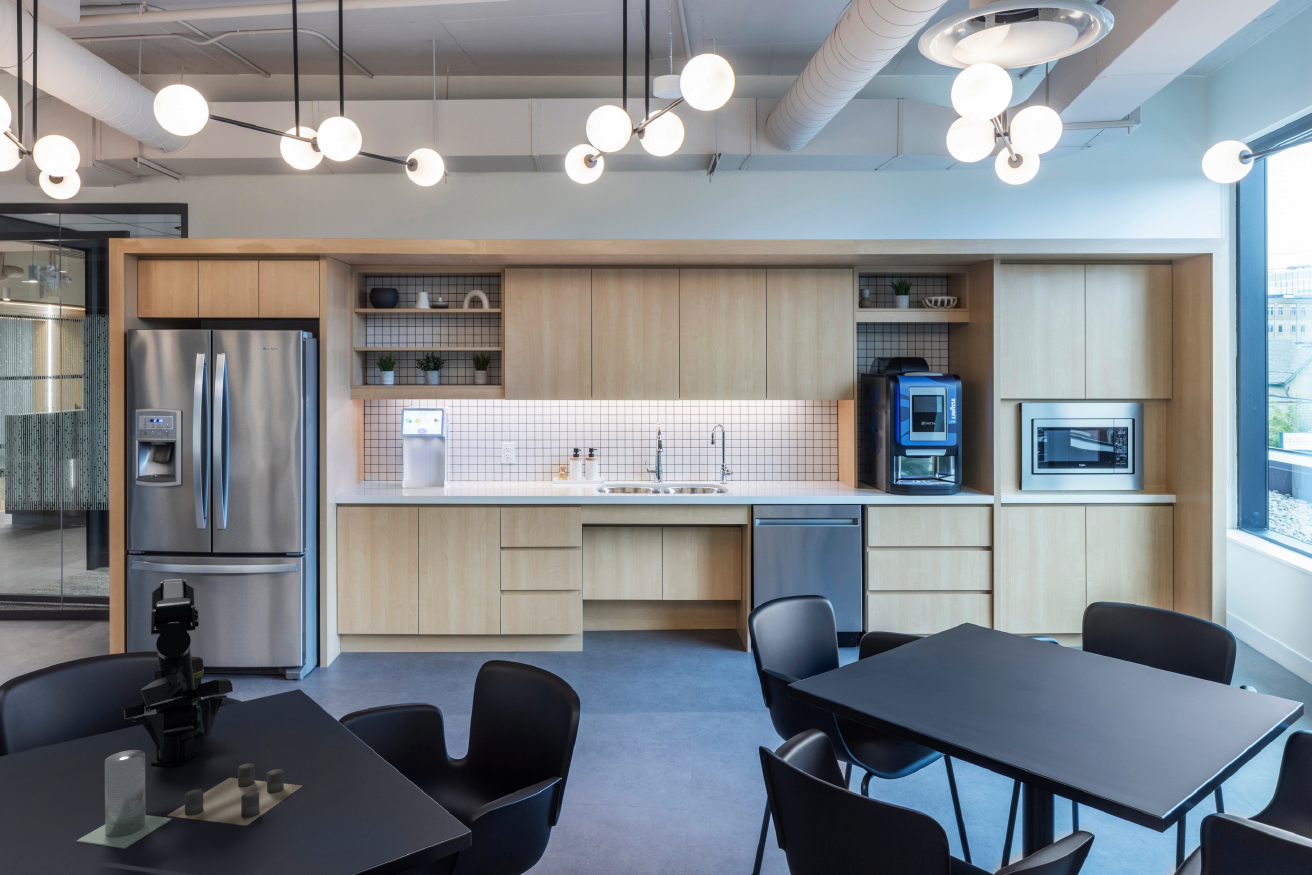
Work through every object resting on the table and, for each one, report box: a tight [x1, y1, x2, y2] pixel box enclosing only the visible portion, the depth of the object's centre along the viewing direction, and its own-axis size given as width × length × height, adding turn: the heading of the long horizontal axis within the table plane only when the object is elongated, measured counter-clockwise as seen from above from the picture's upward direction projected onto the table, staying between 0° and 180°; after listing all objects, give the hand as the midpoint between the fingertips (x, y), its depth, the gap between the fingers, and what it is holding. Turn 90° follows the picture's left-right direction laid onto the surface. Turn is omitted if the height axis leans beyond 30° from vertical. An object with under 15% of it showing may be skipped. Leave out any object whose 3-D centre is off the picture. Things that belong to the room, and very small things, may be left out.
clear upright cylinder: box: [104, 749, 146, 838], centre depth 140 cm, size 6×6×13 cm
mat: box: [166, 762, 303, 826], centre depth 152 cm, size 17×16×4 cm
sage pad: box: [76, 814, 172, 849], centre depth 140 cm, size 10×10×1 cm
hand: (183, 742), depth 155 cm, fingers open, 9 cm apart
